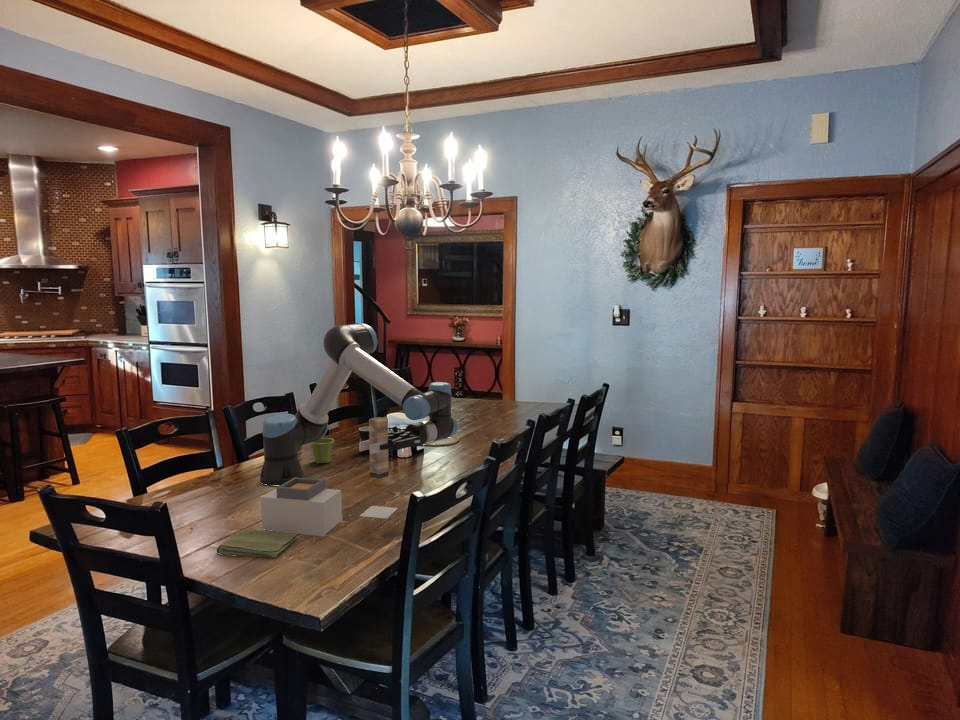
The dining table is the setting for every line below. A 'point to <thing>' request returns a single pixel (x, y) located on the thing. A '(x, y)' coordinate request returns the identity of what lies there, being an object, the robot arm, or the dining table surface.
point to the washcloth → (256, 543)
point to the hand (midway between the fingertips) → (365, 448)
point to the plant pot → (322, 450)
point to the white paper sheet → (378, 512)
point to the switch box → (302, 508)
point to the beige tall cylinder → (380, 459)
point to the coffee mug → (364, 436)
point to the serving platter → (445, 443)
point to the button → (301, 485)
